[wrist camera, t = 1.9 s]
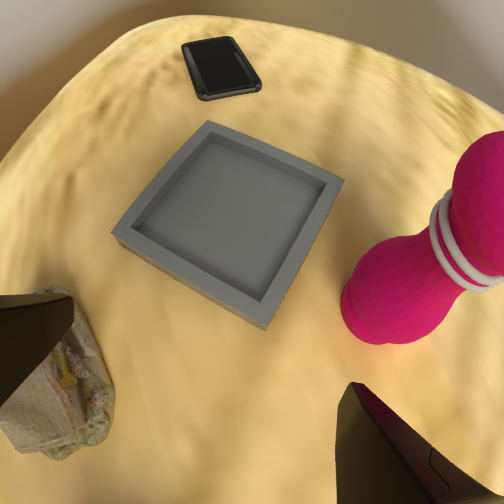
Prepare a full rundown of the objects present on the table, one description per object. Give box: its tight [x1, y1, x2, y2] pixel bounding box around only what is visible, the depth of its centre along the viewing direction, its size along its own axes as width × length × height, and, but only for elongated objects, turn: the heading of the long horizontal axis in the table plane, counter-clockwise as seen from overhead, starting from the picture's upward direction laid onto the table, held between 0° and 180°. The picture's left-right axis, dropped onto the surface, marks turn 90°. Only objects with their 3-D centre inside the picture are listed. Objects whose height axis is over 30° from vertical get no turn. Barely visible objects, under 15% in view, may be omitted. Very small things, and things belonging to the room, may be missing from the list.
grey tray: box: [111, 120, 344, 331], centre depth 25 cm, size 14×14×2 cm
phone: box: [181, 36, 262, 101], centre depth 35 cm, size 8×1×15 cm
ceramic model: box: [0, 285, 115, 460], centre depth 15 cm, size 14×11×10 cm
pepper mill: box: [341, 131, 504, 345], centre depth 14 cm, size 7×7×20 cm
